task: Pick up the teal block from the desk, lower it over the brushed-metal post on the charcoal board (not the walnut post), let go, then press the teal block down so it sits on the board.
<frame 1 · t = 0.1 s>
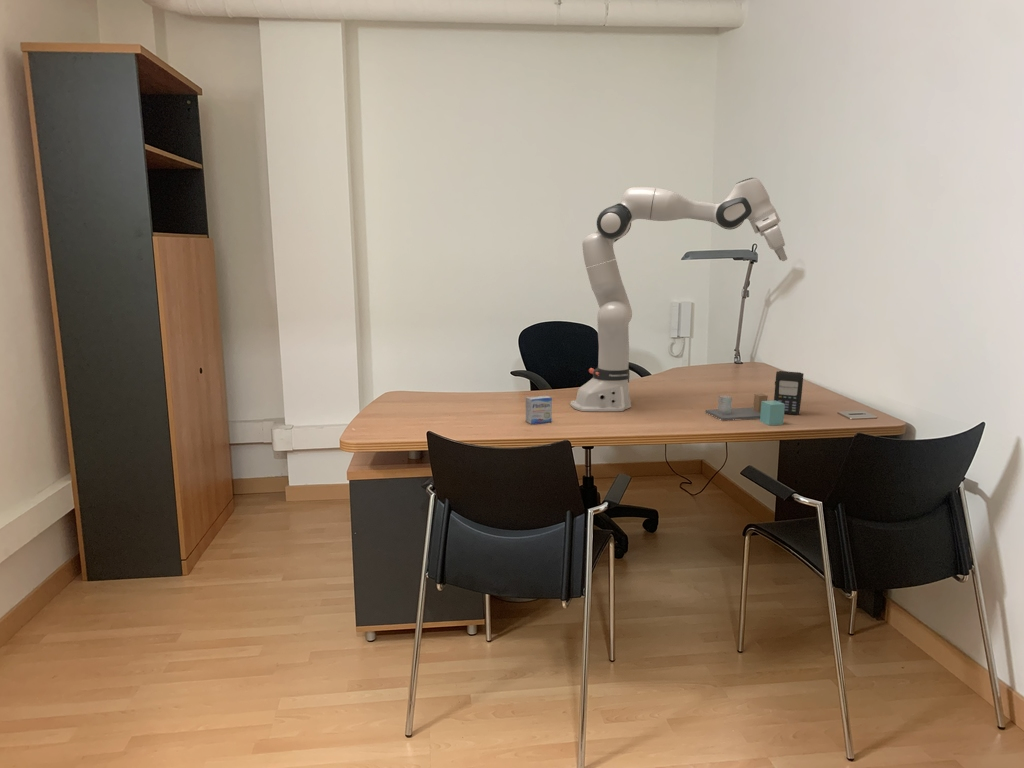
hand: (783, 259, 242), 54 cm above the table, tool tilted 30°, fingers open, 8 cm apart
medicine box: (538, 422, 244), on the table
post board: (741, 415, 255), on the table
metal post: (723, 416, 253), resting on post board
card reader: (786, 413, 258), on the table
teal block: (771, 422, 244), on the table
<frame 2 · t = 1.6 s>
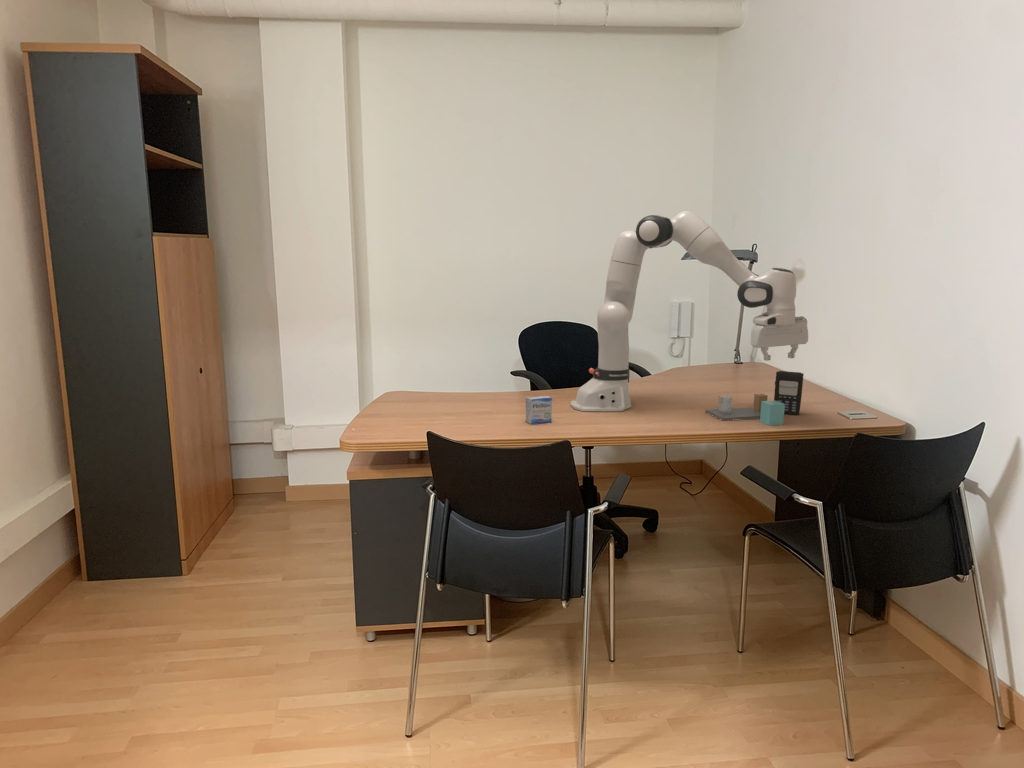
hand: (779, 359, 240), 22 cm above the table, tool pointing down, fingers open, 8 cm apart
nothing on the table moved.
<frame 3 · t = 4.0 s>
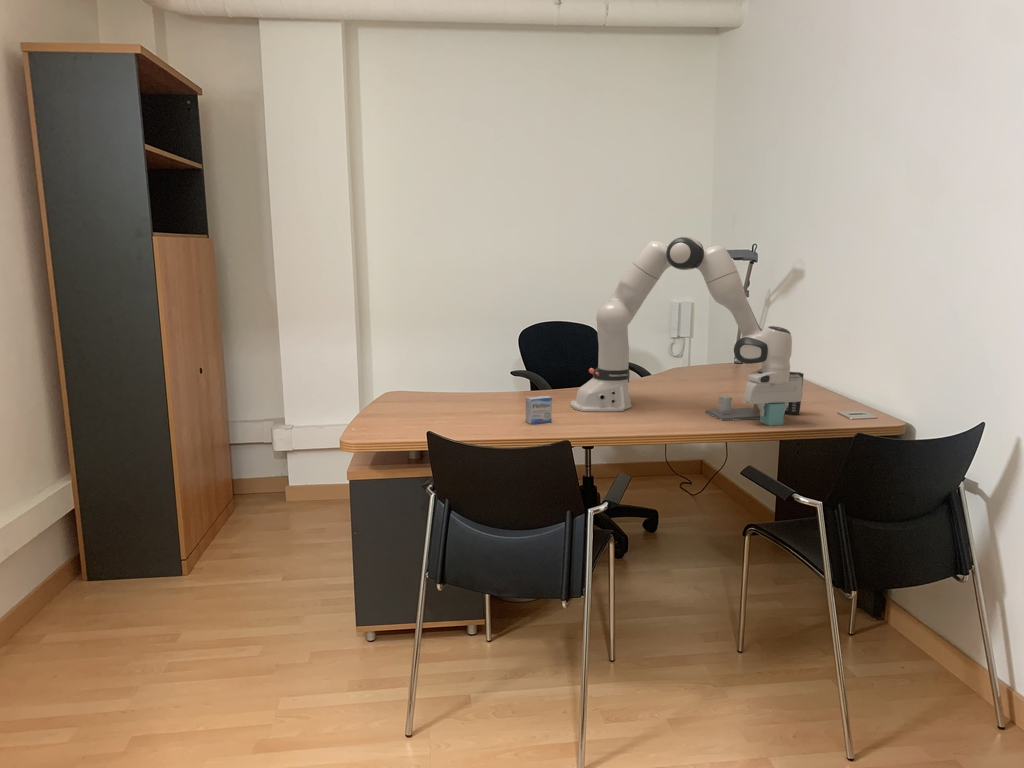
hand: (772, 415, 244), 3 cm above the table, tool pointing down, fingers closed on teal block, 5 cm apart
teal block: (771, 422, 244), on the table, touching gripper
everything else where it was.
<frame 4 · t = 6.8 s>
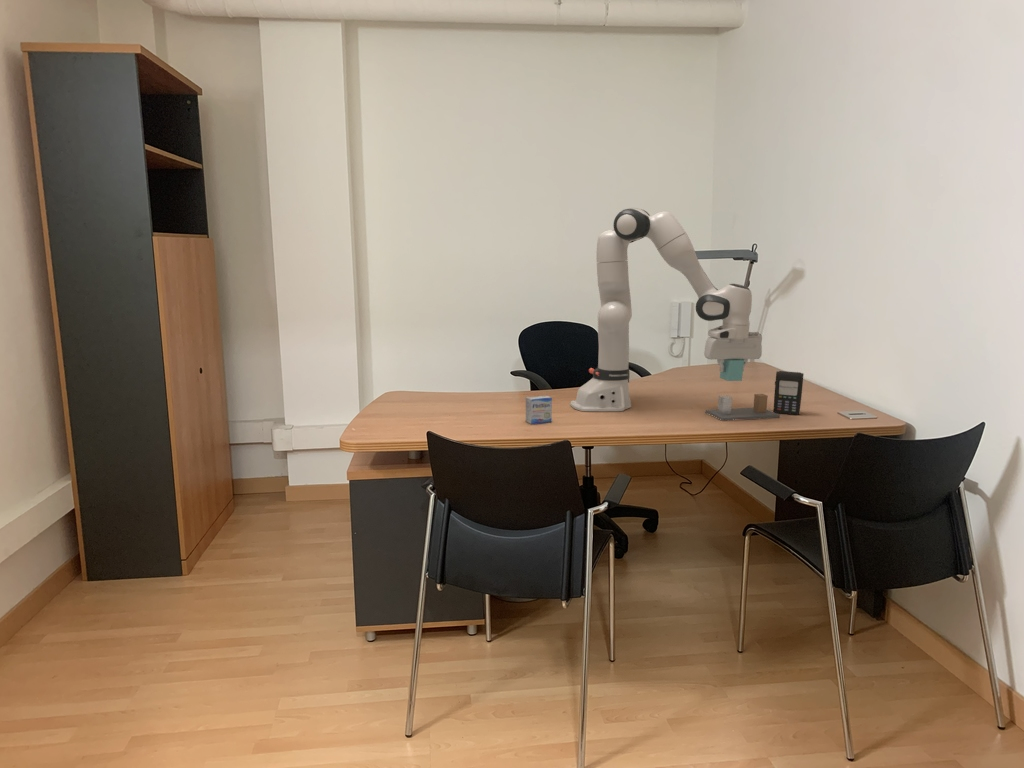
hand: (731, 371, 249), 16 cm above the table, tool pointing down, fingers closed on teal block, 5 cm apart
teal block: (730, 379, 249), point 13 cm above the table, touching gripper
everything else where it was.
when the fingers open (5 cm above the table, at t = 9.7 s): teal block drops 1 cm, resting on post board.
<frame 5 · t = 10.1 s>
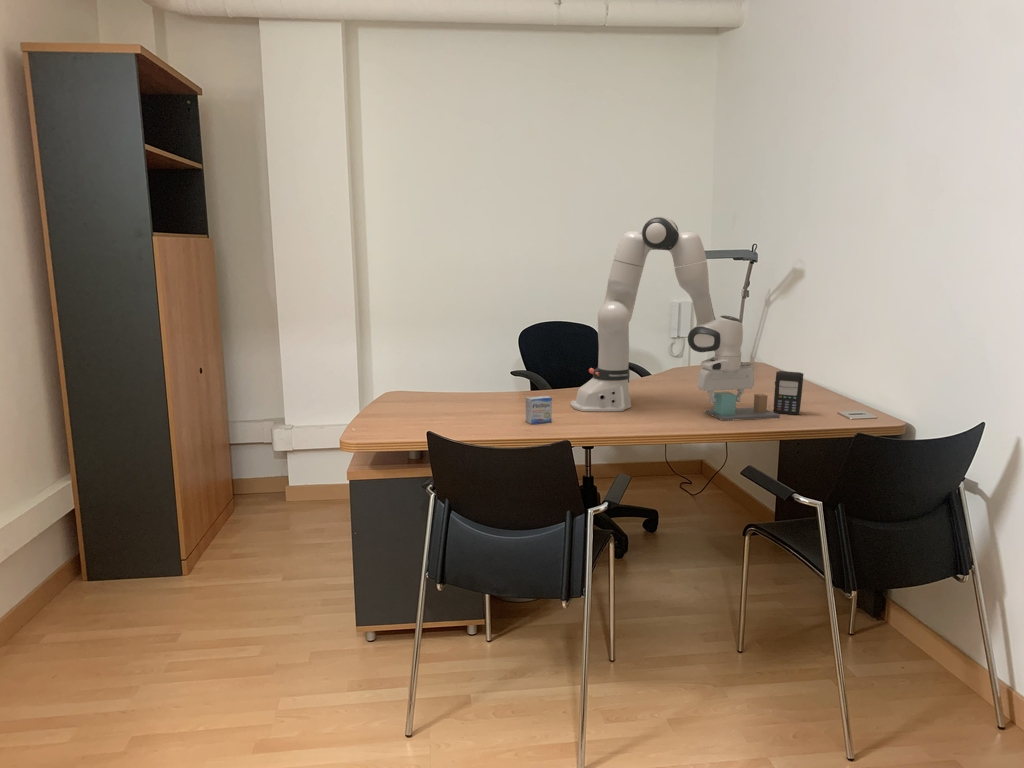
hand: (724, 401, 252), 5 cm above the table, tool pointing down, fingers open, 8 cm apart
teal block: (724, 413, 253), point 1 cm above the table, touching post board
everything else where it was.
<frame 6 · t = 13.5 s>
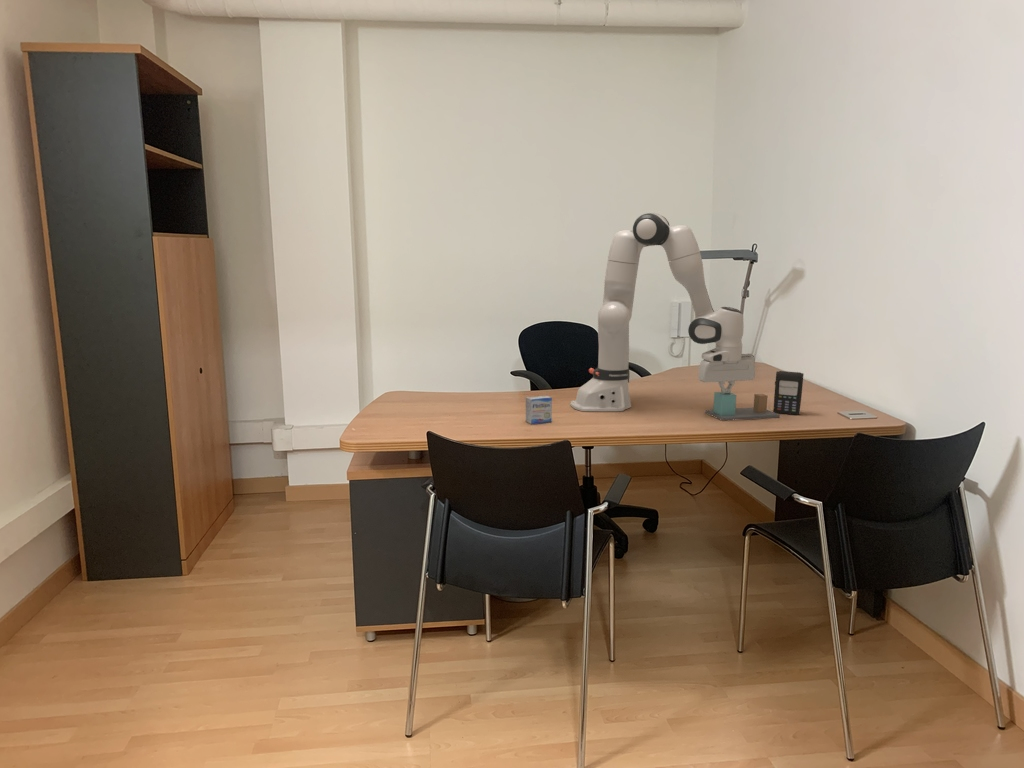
hand: (725, 393, 251), 8 cm above the table, tool pointing down, fingers closed, pressing on teal block
teal block: (724, 413, 253), point 1 cm above the table, touching gripper, post board
everything else where it was.
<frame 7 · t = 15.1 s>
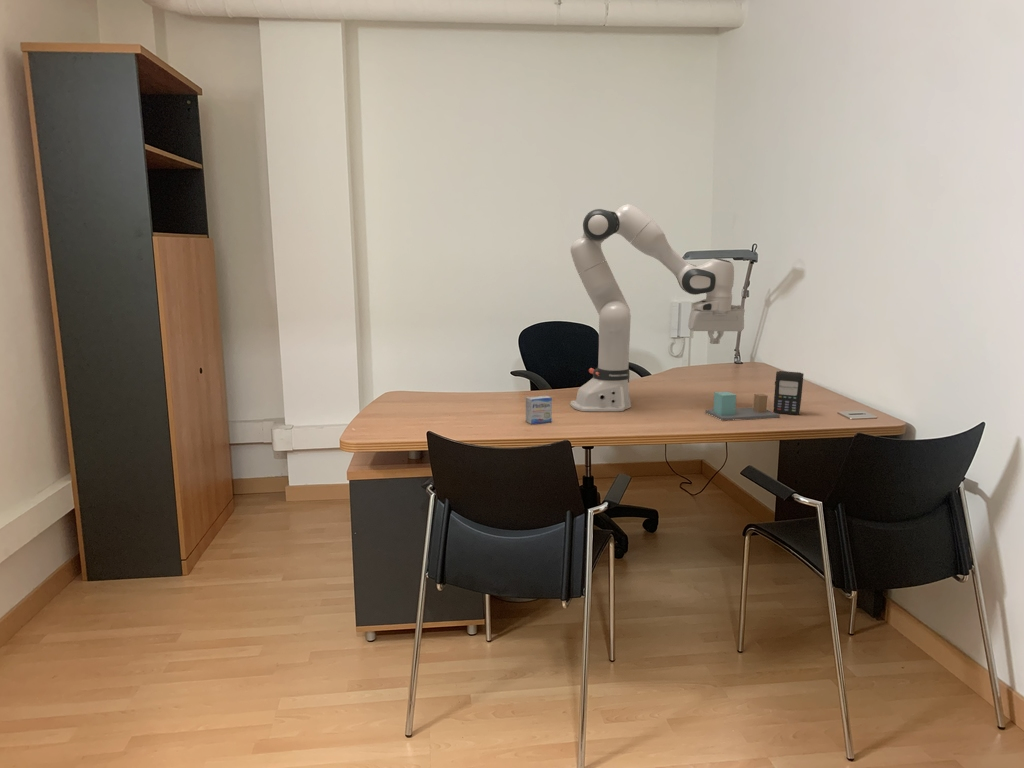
hand: (714, 343, 258), 24 cm above the table, tool pointing down, fingers closed
teal block: (724, 413, 253), point 1 cm above the table, touching post board
everything else where it was.
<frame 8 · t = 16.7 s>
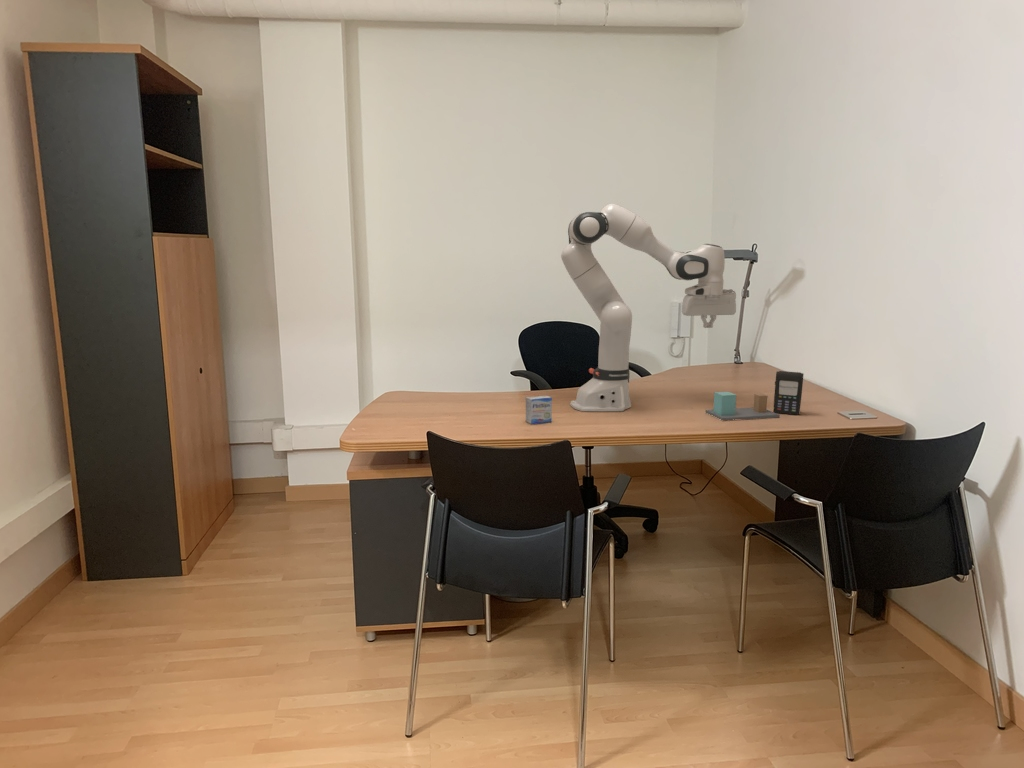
hand: (708, 327, 264), 29 cm above the table, tool pointing down, fingers closed
nothing on the table moved.
at the end: teal block 0.0 cm from the metal post (horizontally); teal block point 1.0 cm above the table; teal block tilted 0° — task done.
